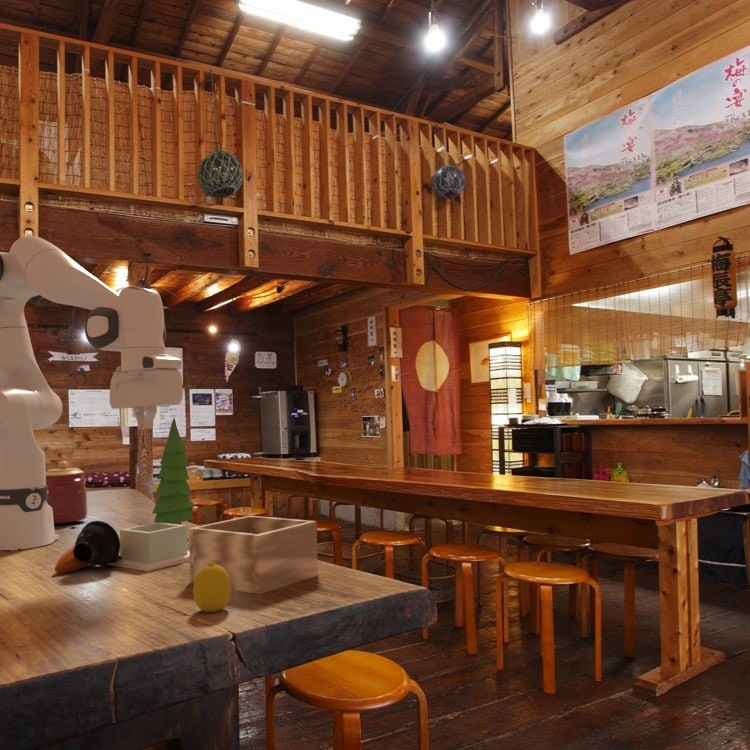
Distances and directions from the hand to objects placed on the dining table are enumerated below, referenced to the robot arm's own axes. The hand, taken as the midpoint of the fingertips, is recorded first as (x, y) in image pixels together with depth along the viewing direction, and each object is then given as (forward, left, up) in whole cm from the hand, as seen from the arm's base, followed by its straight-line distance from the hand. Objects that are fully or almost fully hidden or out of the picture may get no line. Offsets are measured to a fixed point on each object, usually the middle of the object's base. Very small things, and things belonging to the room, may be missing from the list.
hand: (145, 429), depth 140 cm
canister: (-74, +25, -28) cm, 83 cm away
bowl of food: (0, -15, -24) cm, 28 cm away
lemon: (+40, -19, -28) cm, 52 cm away
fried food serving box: (+31, -1, -28) cm, 42 cm away
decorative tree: (-14, +17, -28) cm, 36 cm away
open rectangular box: (0, +1, -28) cm, 28 cm away
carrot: (-5, -17, -26) cm, 32 cm away
